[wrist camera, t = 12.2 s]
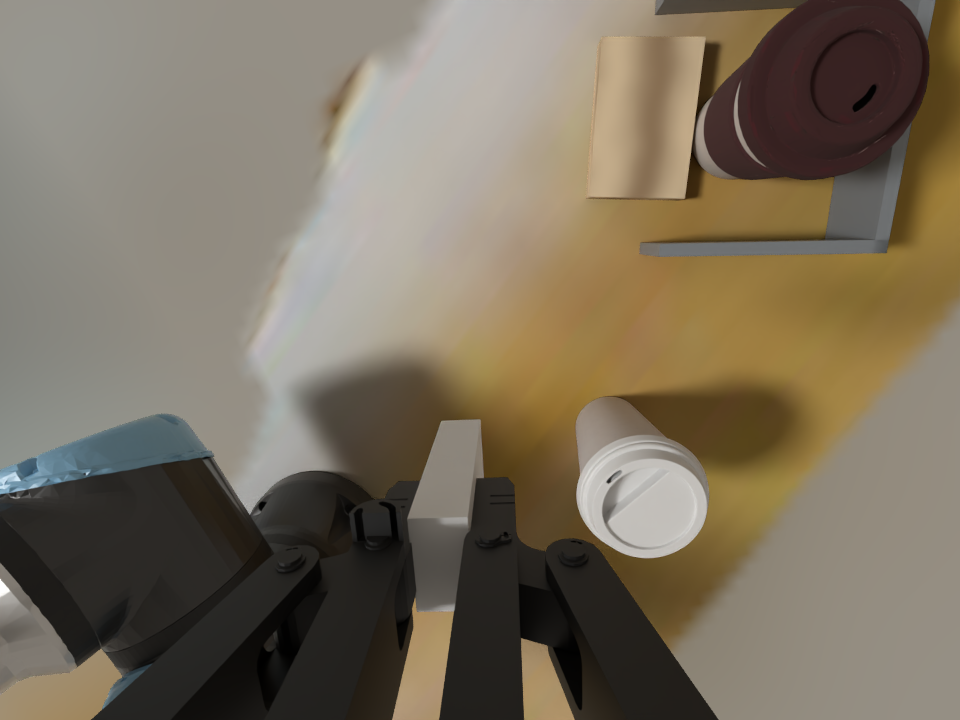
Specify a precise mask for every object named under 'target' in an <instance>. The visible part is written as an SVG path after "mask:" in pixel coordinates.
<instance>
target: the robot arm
mask: <svg viewBox="0 0 960 720" xmlns="http://www.w3.org/2000/svg"><path fill="white" fill-rule="evenodd" d="M213 457H214V454H213V453H212V452H211V451H209V450H207V449H206V447H205V446H204V445H203V443H202V442H201V441H200V440H199V438H198V437H197V436H196V434H195V433H194V431H193V430H192V429H191V427H190V426H189V425H188V423H187V422H185V421H184V420H183V419H181V418H180V417H178V416H175V415H171V414H156V415H151V416H148V417H145V418H141V419H138V420H135V421H132V422H129V423H126V424H122V425H119V426H117V427H114V428H111V429H108V430H105V431H102V432H99V433H97V434H93V435H91V436H88V437H85V438H82V439H80V440H77V441H74V442H71V443H69V444H66V445H63V446H60V447H58V448H55V449H53V450H50V451H48V452H45V453H42V454H40V455H38V456H36V457H33V458H30V459H27V460H25V461H22V462H20V463H17V464H14V465H11V466H8V467H6V468H3V469H1V470H0V695H1V694H2V693H3V692H5V691H6V690H7V689H9V688H10V687H11V686H12V685H14V684H15V683H16V682H18V681H20V680H23V679H26V678H29V677H32V676H42V675H52V674H61V673H70V672H71V671H73V670H74V669H76V668H77V667H78V666H79V665H81V664H82V663H83V662H85V661H86V660H87V659H88V658H89V657H91V656H92V655H93V654H94V653H96V652H97V651H98V650H100V649H102V650H103V651H104V652H105V653H106V655H107V656H108V657H109V658H110V660H111V661H112V662H113V664H114V666H115V667H116V668H117V669H118V670H119V672H120V673H121V675H122V678H121V679H119V680H118V681H117V682H116V683H115V684H114V685H113V687H112V688H111V689H110V692H109V693H108V695H109V696H108V697H107V699H106V701H105V703H104V705H103V708H102V710H101V711H100V712H99V713H98V714H97V715H96V716H95V717H94V718H93V719H91V720H392V717H393V713H394V709H395V704H396V700H397V696H398V691H399V687H400V683H401V678H402V674H403V670H404V665H405V661H406V657H407V652H408V648H409V644H410V639H411V635H412V631H413V615H412V607H413V603H414V599H415V598H416V607H417V612H430V611H454V616H453V623H452V631H451V638H450V645H449V652H448V660H447V667H446V674H445V682H444V689H443V696H442V703H441V711H440V718H439V720H524V708H523V683H522V658H521V638H523V639H527V640H530V641H534V642H537V643H541V644H544V645H547V646H548V652H549V656H550V658H551V661H552V663H553V666H554V668H555V671H556V673H557V676H558V678H559V681H560V683H561V686H562V688H563V691H564V693H565V696H566V698H567V701H568V704H569V706H570V709H571V711H572V714H573V716H574V719H575V720H718V718H717V717H716V715H715V714H714V713H713V711H712V710H711V708H710V707H709V706H708V704H707V703H706V701H705V700H704V698H703V697H702V696H701V694H700V693H699V691H698V690H697V689H696V687H695V686H694V684H693V683H692V681H691V680H690V678H689V677H688V676H687V674H686V673H685V672H684V670H683V669H682V667H681V666H680V664H679V663H678V661H677V660H676V659H675V657H674V656H673V654H672V653H671V651H670V650H669V649H668V647H667V646H666V644H665V643H664V641H663V640H662V639H661V637H660V636H659V634H658V633H657V631H656V630H655V629H654V627H653V626H652V624H651V623H650V621H649V620H648V619H647V617H646V616H645V614H644V613H643V612H642V610H641V609H640V607H639V606H638V604H637V603H636V602H635V600H634V599H633V597H632V596H631V594H630V593H629V592H628V590H627V589H626V587H625V586H624V584H623V583H622V582H621V580H620V579H619V577H618V576H617V574H616V573H615V572H614V570H613V569H612V567H611V566H610V565H609V563H608V562H607V560H606V559H605V557H604V556H603V555H602V553H601V552H600V550H598V549H597V548H596V547H595V546H594V545H593V544H591V543H589V542H586V541H584V540H579V539H574V538H573V539H562V540H558V541H555V542H553V543H552V544H551V545H550V546H548V548H547V550H546V552H545V551H540V550H537V549H533V548H531V547H529V546H527V545H525V544H524V543H523V542H521V541H520V539H519V538H518V537H517V533H516V516H515V493H514V484H513V483H512V482H511V481H510V480H509V479H508V478H507V477H500V478H484V471H483V454H482V437H481V420H480V419H476V420H447V421H441V423H440V426H439V429H438V432H437V435H436V438H435V440H434V443H433V446H432V449H431V452H430V455H429V458H428V460H427V463H426V466H425V469H424V472H423V475H422V478H421V480H420V481H399V482H398V483H396V484H395V485H394V486H393V487H391V488H390V489H389V490H388V492H387V495H386V497H385V499H376V500H373V499H372V498H371V497H370V496H369V495H368V494H367V493H366V492H365V491H364V490H363V489H361V488H360V487H359V486H357V485H356V484H354V483H353V482H351V481H349V480H347V479H345V478H342V477H340V476H337V475H334V474H330V473H324V472H303V473H298V474H294V475H291V476H288V477H286V478H284V479H282V480H280V481H279V482H277V483H276V484H275V485H274V486H272V487H271V488H270V489H269V490H268V491H267V492H266V493H265V494H264V496H263V497H262V498H261V499H260V500H259V501H258V502H257V504H256V505H255V507H254V508H253V510H252V512H251V514H250V515H249V513H248V512H247V510H246V509H245V507H244V505H243V504H242V502H241V501H240V499H239V498H238V496H237V495H236V493H235V492H234V490H233V489H232V487H231V485H230V484H229V482H228V481H227V479H226V477H225V476H224V474H223V473H222V471H221V469H220V468H219V466H218V465H217V463H216V462H215V460H214V458H213Z"/></svg>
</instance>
